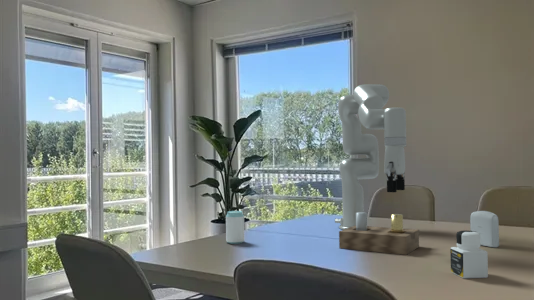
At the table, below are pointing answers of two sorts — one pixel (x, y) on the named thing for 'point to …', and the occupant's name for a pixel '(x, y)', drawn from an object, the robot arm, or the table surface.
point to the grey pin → (361, 221)
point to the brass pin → (397, 223)
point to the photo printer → (485, 227)
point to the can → (234, 227)
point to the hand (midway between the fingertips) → (396, 191)
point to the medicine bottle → (469, 256)
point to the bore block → (379, 240)
